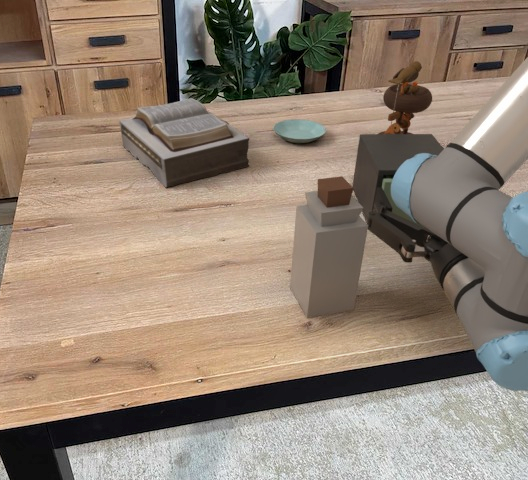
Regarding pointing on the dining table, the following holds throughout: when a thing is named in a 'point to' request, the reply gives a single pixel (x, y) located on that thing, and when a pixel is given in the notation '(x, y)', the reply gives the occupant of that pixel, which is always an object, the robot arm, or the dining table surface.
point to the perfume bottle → (328, 249)
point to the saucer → (299, 130)
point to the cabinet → (385, 161)
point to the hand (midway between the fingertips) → (420, 194)
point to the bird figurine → (405, 99)
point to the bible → (183, 142)
